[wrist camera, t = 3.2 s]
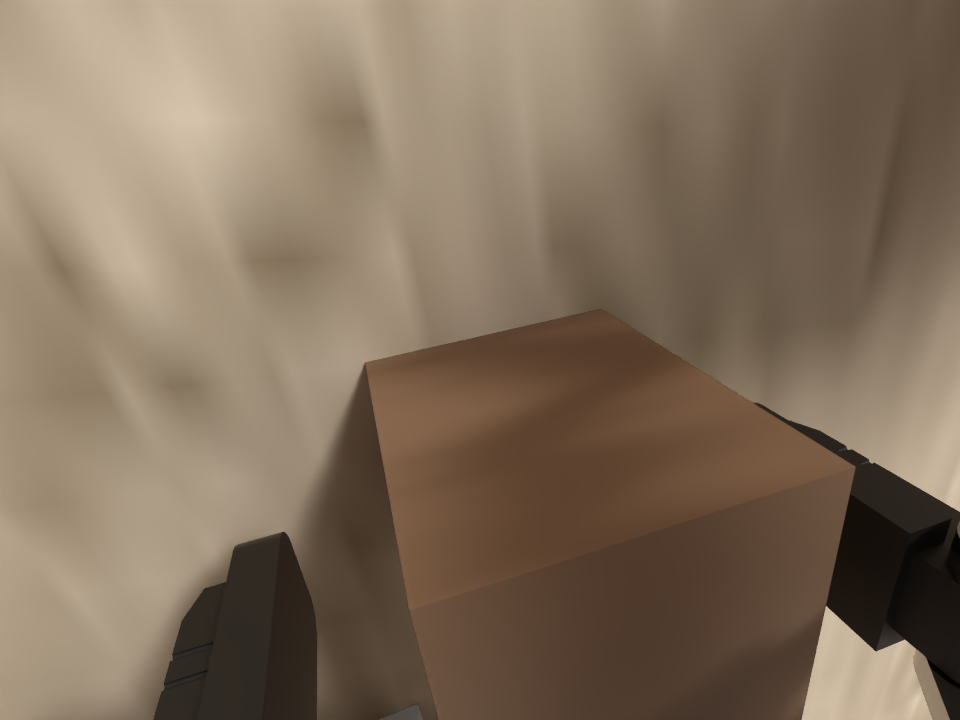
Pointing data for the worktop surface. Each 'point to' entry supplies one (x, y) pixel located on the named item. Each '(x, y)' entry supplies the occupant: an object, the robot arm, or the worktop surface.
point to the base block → (406, 714)
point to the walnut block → (603, 529)
